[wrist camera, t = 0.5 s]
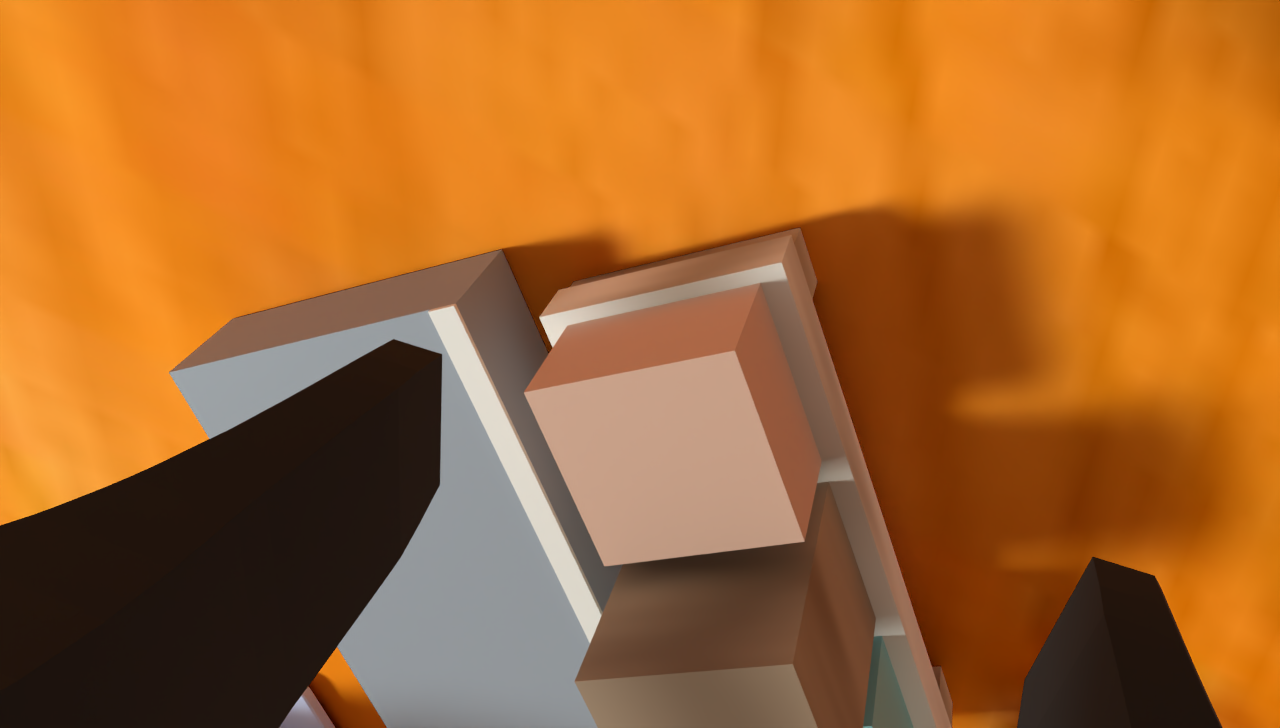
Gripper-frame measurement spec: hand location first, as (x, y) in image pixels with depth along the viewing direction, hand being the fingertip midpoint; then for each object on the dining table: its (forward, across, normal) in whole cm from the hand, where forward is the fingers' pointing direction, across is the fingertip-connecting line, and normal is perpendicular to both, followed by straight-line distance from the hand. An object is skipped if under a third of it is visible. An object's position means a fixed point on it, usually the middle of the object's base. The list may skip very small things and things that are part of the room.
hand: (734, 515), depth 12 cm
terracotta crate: (+8, +2, +5) cm, 10 cm away
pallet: (+10, 0, +9) cm, 13 cm away
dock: (+9, +6, +13) cm, 17 cm away
